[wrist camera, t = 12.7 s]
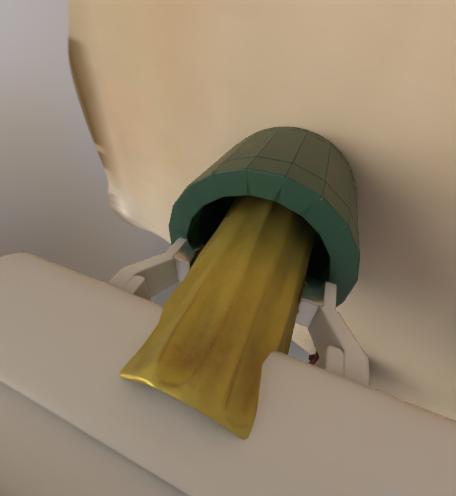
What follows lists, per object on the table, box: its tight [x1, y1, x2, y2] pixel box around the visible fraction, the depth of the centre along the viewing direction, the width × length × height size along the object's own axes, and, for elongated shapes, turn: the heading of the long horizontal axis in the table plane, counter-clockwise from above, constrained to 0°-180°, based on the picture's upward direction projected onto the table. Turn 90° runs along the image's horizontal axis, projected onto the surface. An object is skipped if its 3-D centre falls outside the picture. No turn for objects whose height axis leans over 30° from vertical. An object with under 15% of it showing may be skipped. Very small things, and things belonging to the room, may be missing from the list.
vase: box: [119, 195, 316, 440], centre depth 12 cm, size 6×6×14 cm
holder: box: [169, 127, 360, 307], centre depth 15 cm, size 10×10×8 cm
